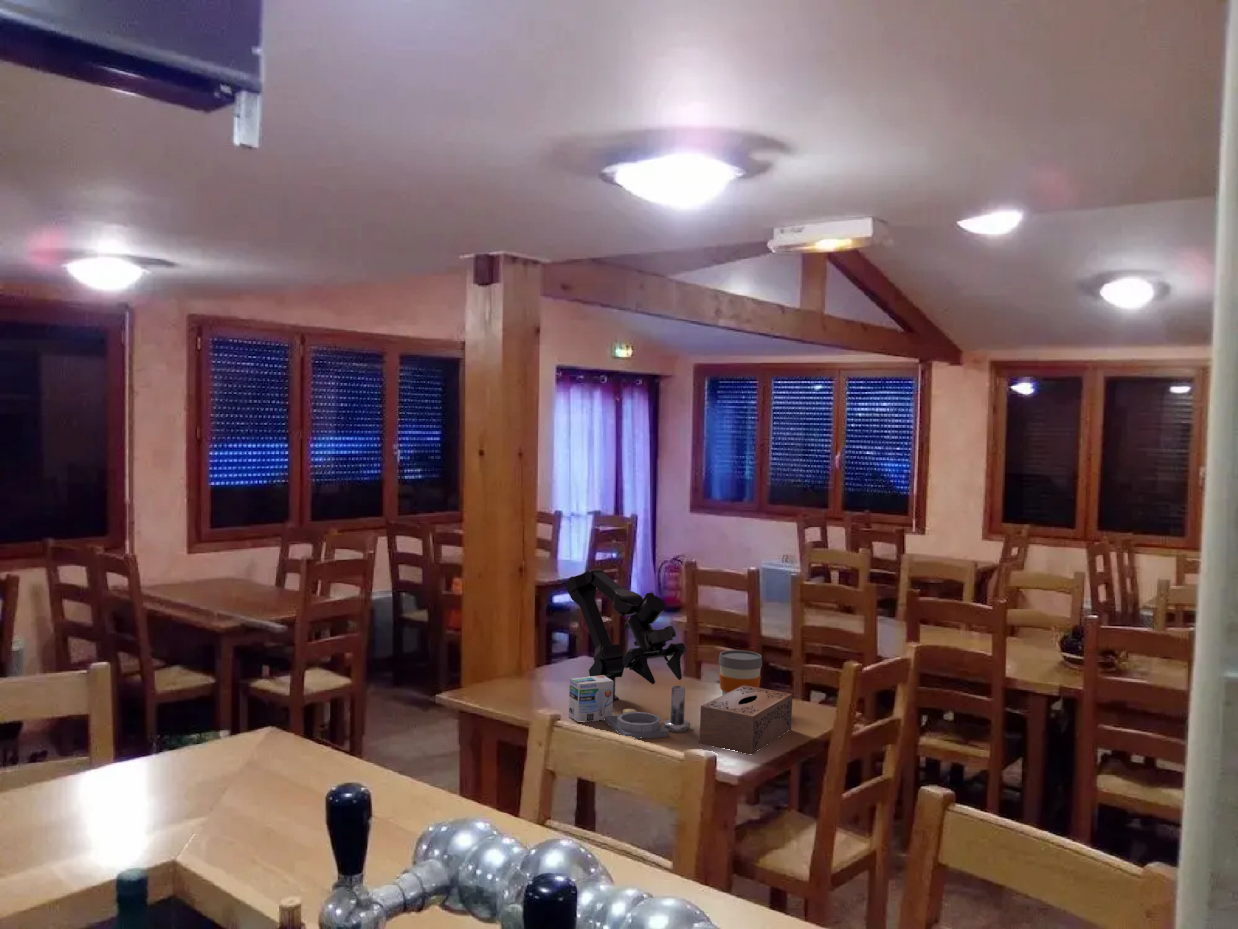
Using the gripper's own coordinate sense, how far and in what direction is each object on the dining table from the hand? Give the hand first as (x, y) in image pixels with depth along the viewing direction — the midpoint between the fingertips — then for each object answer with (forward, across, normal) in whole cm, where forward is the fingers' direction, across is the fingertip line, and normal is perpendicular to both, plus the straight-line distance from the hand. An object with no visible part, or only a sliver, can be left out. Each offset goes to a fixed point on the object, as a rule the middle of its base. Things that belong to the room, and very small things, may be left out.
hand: (667, 681), depth 272 cm
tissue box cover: (+22, +11, -5) cm, 26 cm away
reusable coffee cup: (+6, +29, +10) cm, 31 cm away
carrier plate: (+8, -10, +8) cm, 15 cm away
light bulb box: (-2, -15, +18) cm, 24 cm away
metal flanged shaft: (+12, 0, +5) cm, 13 cm away
